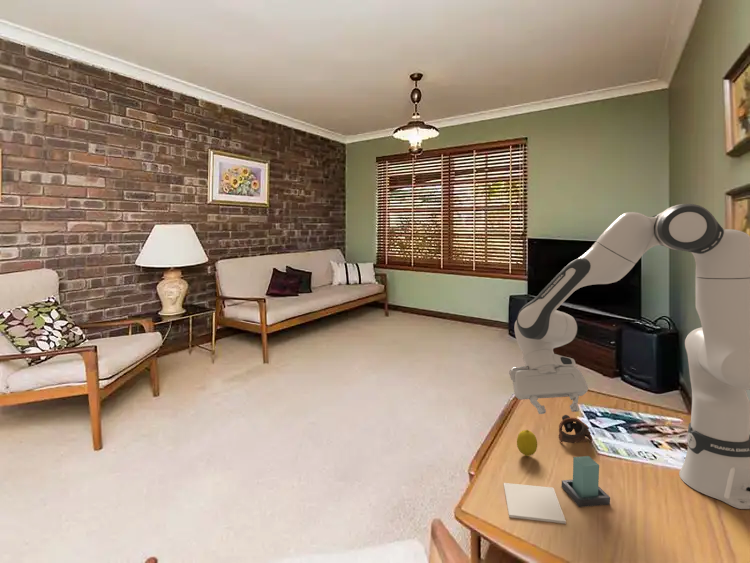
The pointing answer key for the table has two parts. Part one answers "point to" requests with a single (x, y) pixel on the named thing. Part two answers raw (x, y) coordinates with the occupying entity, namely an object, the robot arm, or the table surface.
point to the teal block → (585, 476)
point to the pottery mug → (579, 428)
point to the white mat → (533, 503)
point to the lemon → (527, 442)
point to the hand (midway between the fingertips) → (559, 412)
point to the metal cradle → (585, 501)
